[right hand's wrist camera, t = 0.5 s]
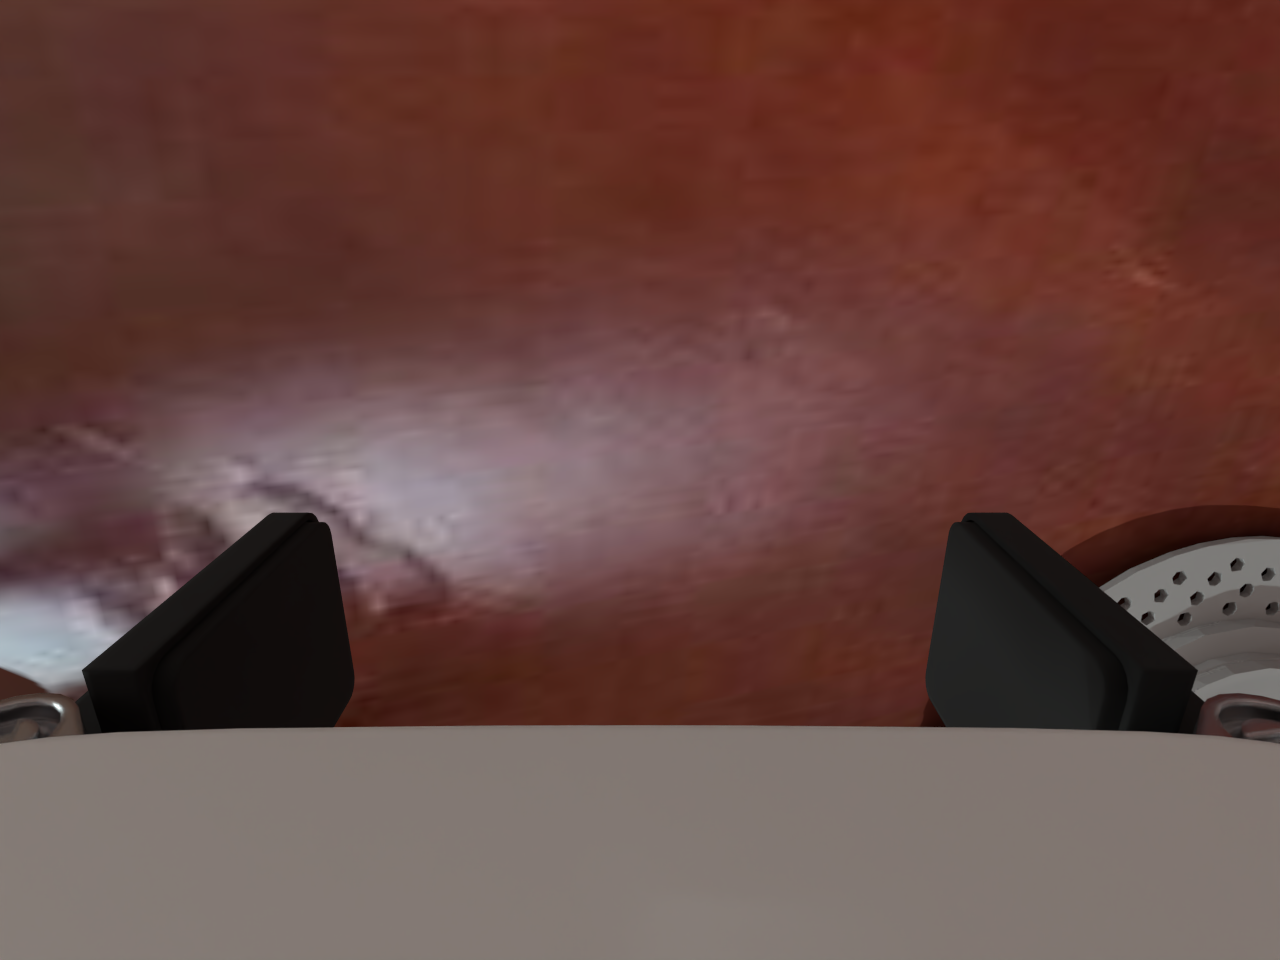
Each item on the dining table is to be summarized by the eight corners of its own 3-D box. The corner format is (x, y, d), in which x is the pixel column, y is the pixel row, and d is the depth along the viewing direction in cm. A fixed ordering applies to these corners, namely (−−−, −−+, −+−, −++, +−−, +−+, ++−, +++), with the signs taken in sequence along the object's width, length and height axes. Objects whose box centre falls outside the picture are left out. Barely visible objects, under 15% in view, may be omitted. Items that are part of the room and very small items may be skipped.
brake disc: (1068, 985, 55) (1107, 1054, 50) (835, 744, 47) (856, 801, 43) (1495, 757, 48) (1584, 814, 43) (1304, 430, 40) (1390, 457, 36)
